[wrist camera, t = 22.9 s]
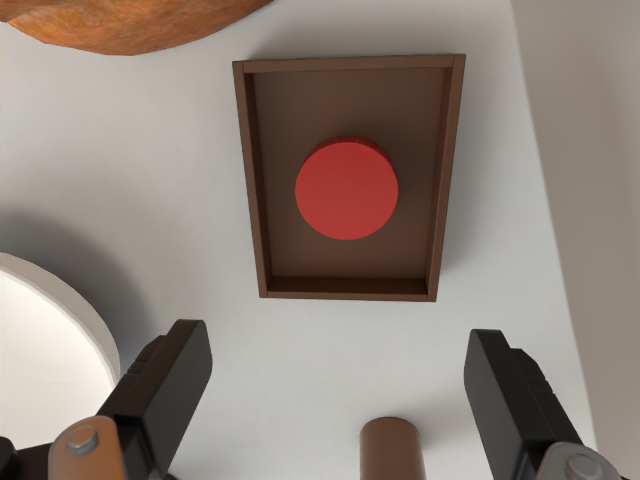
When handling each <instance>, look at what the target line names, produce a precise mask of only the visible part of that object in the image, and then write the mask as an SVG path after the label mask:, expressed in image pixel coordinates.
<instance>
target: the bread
mask: <svg viewBox="0 0 640 480" xmlns="http://www.w3.org/2000/svg"><path fill="white" fill-rule="evenodd" d="M272 1H273V0H0V21H1V22H5V23H6V22H8V23H9V24H10V25H11V26H13V27H15V28H16V29H18V30H20V31H22V32H23V33H25V34H27V35H29V36H31V37H33V38H35V39H37V40H39V41H41V42H43V43H45V44H52V45H58V46H64V47H70V48H75V49H79V50H84V51H89V52H94V53H99V54H104V55H124V56H133V55H138V54H144V53H149V52H153V51H158V50H162V49H166V48H171V47H175V46H179V45H182V44H185V43H188V42H191V41H194V40H197V39H200V38H203V37H206V36H208V35H210V34H212V33H215V32H217V31H219V30H221V29H222V28H224V27H226V26H228V25H230V24H232V23H234V22H235V21H237V20H239V19H241V18H243V17H245V16H246V15H248V14H250V13H252V12H254V11H256V10H258V9H259V8H261V7H263V6H265V5H267V4H269V3H271V2H272Z"/></svg>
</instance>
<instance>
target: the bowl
mask: <svg viewBox="0 0 640 480" xmlns="http://www.w3.org/2000/svg"><path fill="white" fill-rule="evenodd" d="M119 375H120V359H119V354H118V351H117V348H116V344H115V341H114V339H113V337H112V335H111V333H110V331H109V330H108V328H107V326H106V324H105V322H104V321H103V320H102V319H101V317H100V316H99V315H98V313H97V312H96V311H95V310H94V308H93V307H92V306H91V305H90V304H89V303H88V302H87V301H86V300H85V299H84V298H83V297H82V296H81V295H80V294H79V293H78V292H77V291H76V290H74V289H73V288H72V287H70V286H69V285H68V284H66V283H65V282H63V281H62V280H61V279H59V278H58V277H57V276H55V275H54V274H52V273H50V272H48V271H46V270H44V269H42V268H41V267H39V266H37V265H35V264H33V263H31V262H28V261H26V260H23V259H20V258H18V257H15V256H12V255H10V254H6V253H2V252H0V436H2V437H6V438H8V439H10V440H11V442H12V443H13V445H14V447H15V449H16V450H20V449H24V448H29V447H33V446H38V445H42V444H47V443H51V442H54V440H55V439H56V438H57V437H58V436H59V435H60V433H62V432H63V431H64V430H65V429H66V428H68V427H69V426H70V425H72V424H74V423H76V422H77V421H80V420H82V419H85V418H87V417H91V416H95V414H96V413H97V412H98V410H99V409H100V408H101V406H102V405H103V403H104V402H105V401H106V399H107V398H108V397H109V395H110V394H111V392H112V391H113V390H114V388H115V387H116V386H117V384H118V380H119Z"/></svg>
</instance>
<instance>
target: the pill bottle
mask: <svg viewBox="0 0 640 480" xmlns="http://www.w3.org/2000/svg"><path fill="white" fill-rule="evenodd" d="M147 480H152V479H147ZM163 480H175V479H173V478H172V477H170V476H169V475H167V474H166V475H165V477H164V479H163Z"/></svg>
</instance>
